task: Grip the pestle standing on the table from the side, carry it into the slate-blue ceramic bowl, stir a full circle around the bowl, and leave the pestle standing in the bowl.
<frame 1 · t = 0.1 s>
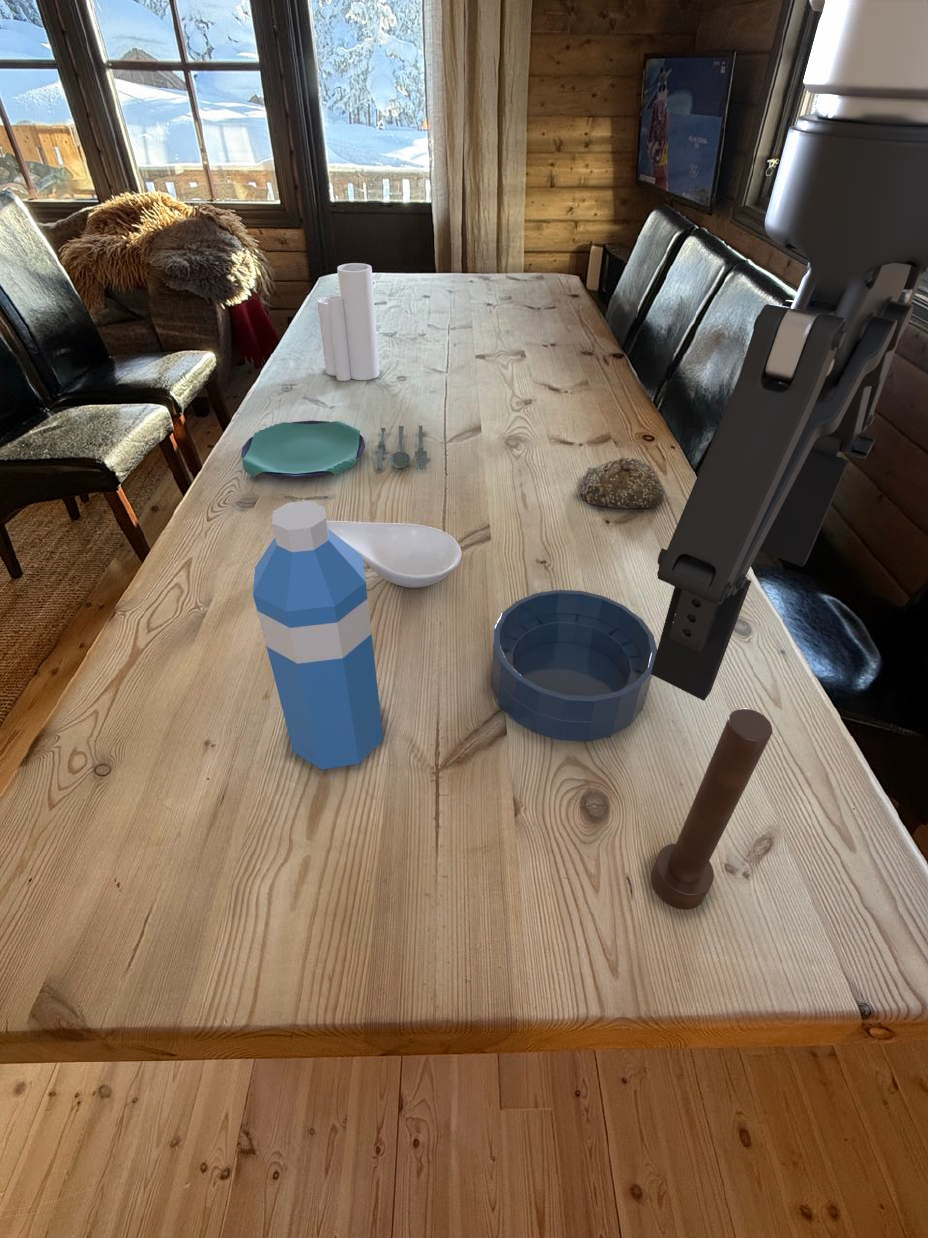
hand: (736, 612, 35), 29 cm above the table, tool pointing down, fingers open, 13 cm apart
bowl: (567, 684, 70), on the table
vase: (352, 375, 136), on the table
bread roll: (619, 491, 101), on the table
cutlery set: (336, 457, 109), on the table
water bottle: (338, 732, 65), on the table
spoon rest: (369, 576, 85), on the table
pestle: (678, 883, 54), on the table
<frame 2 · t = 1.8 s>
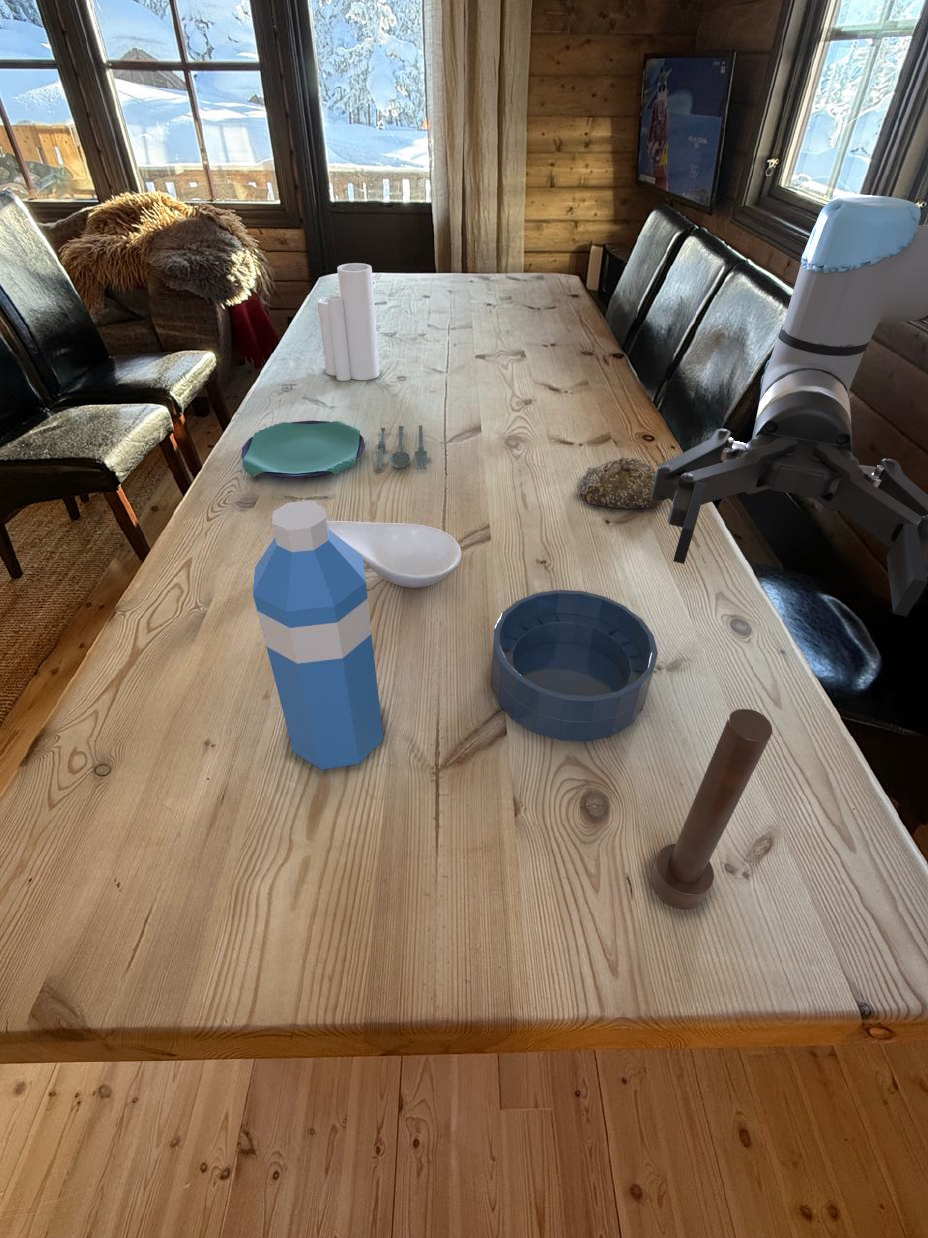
hand: (791, 571, 42), 26 cm above the table, tool horizontal, fingers open, 13 cm apart
nothing on the table moved.
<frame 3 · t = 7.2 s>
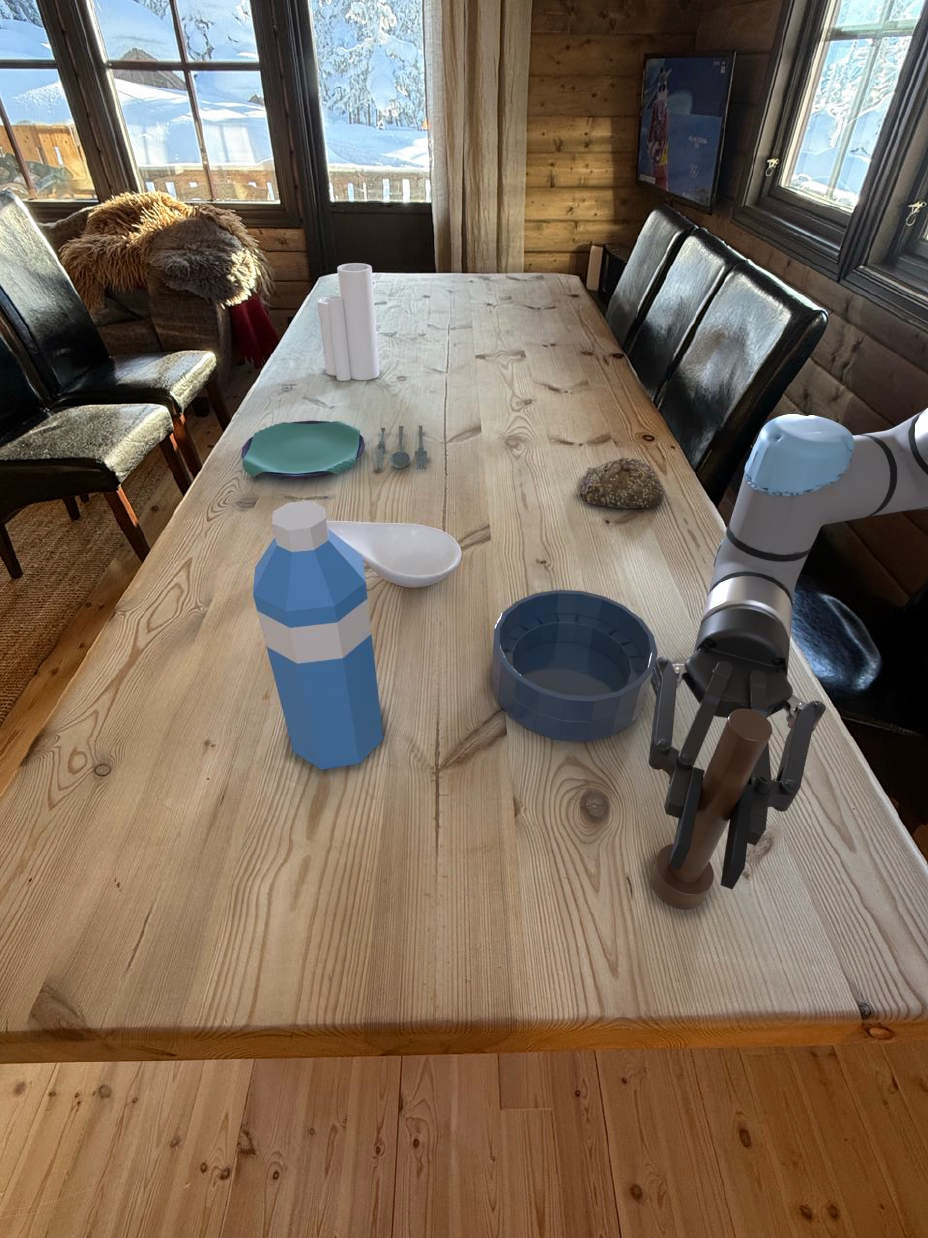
hand: (705, 866, 42), 12 cm above the table, tool horizontal, fingers closed on pestle, 3 cm apart
pestle: (678, 883, 54), on the table, touching gripper
everything else where it was.
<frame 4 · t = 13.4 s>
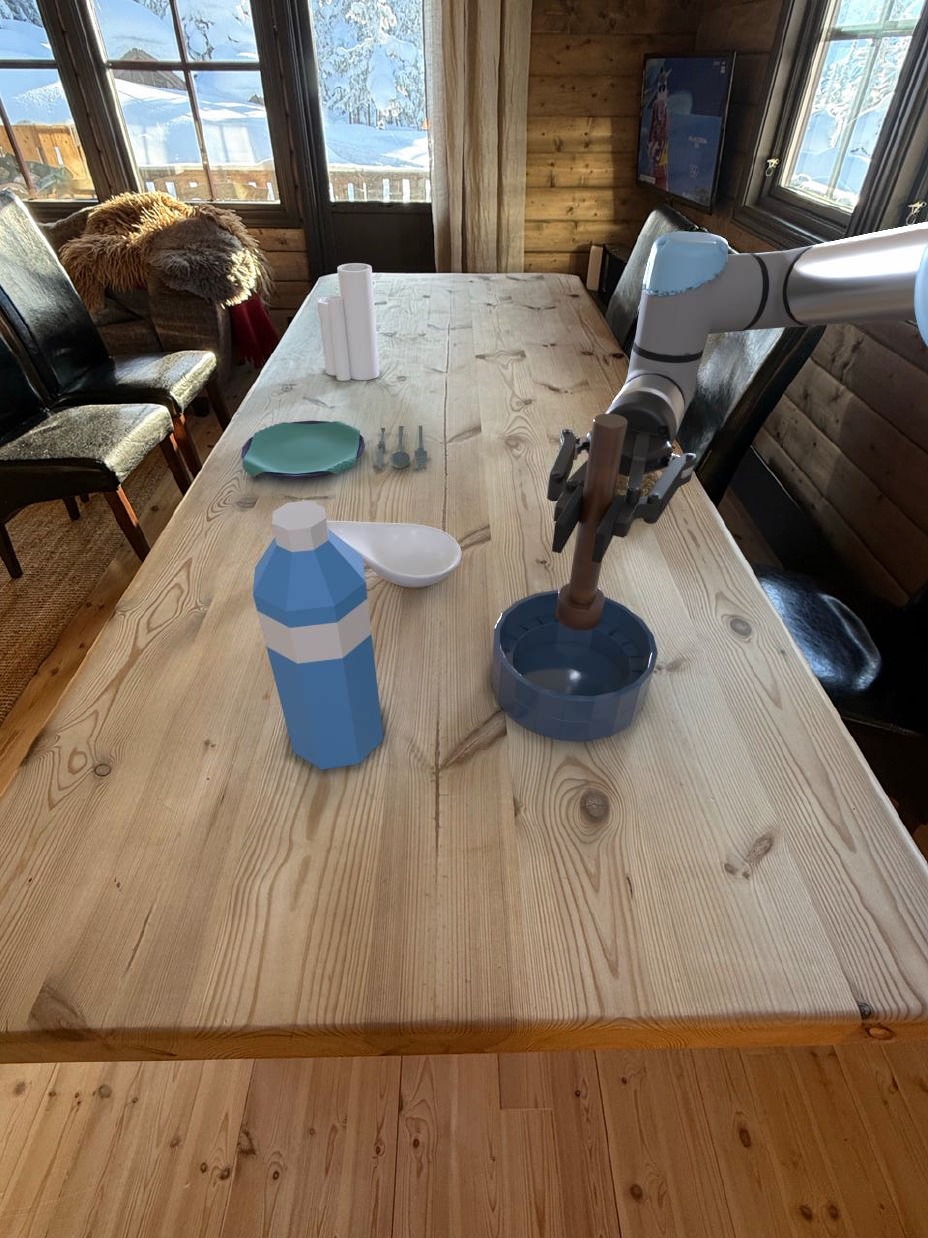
hand: (578, 543, 52), 22 cm above the table, tool horizontal, fingers closed on pestle, 3 cm apart
pestle: (578, 615, 64), point 10 cm above the table, touching gripper
everything else where it was.
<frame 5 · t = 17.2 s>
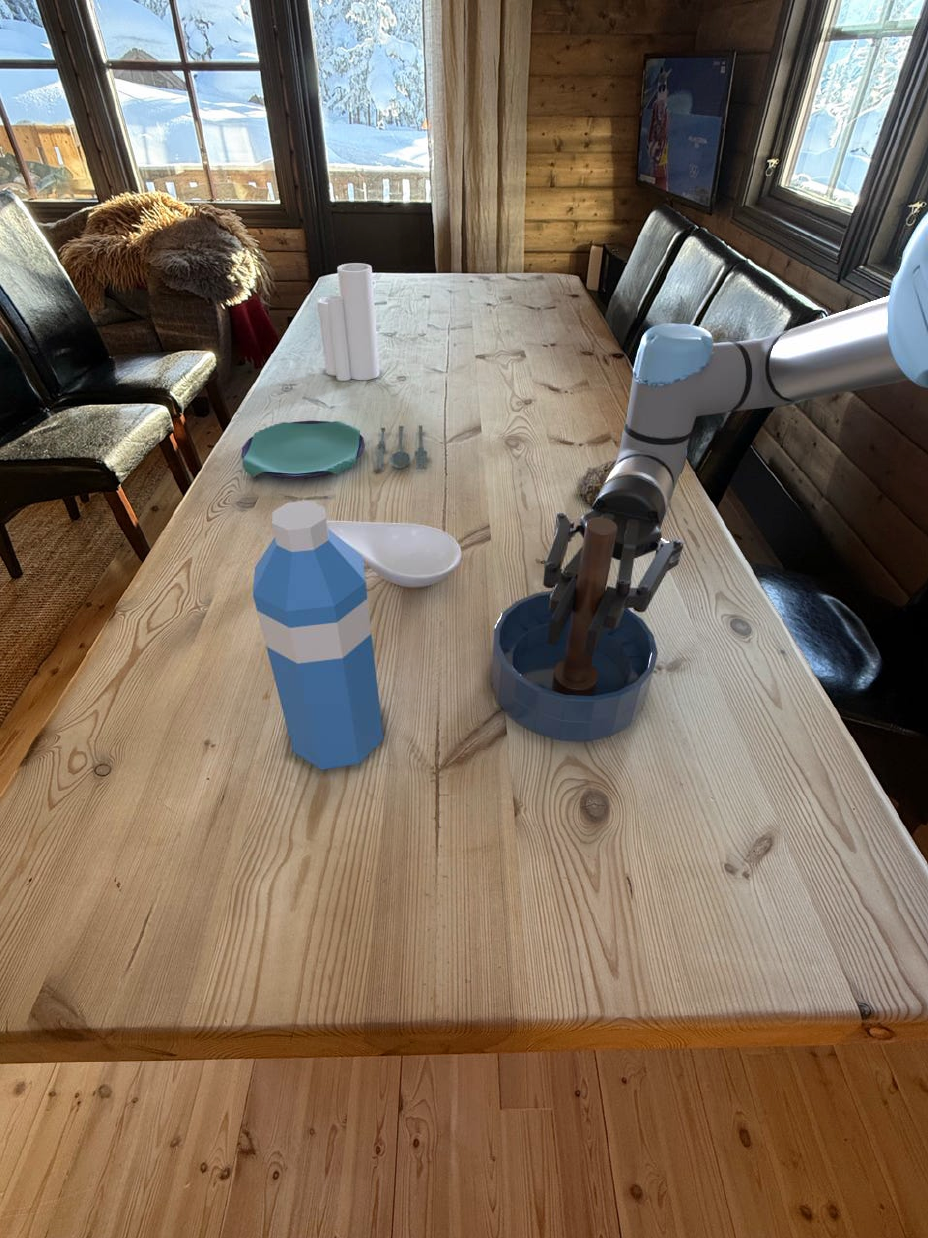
hand: (571, 637, 56), 13 cm above the table, tool horizontal, fingers closed on pestle, 3 cm apart
pestle: (573, 690, 68), point 1 cm above the table, touching gripper
everything else where it was.
when the fingers open (13 cm above the table, at t = 20.0 s): pestle stays where it is, resting on bowl.
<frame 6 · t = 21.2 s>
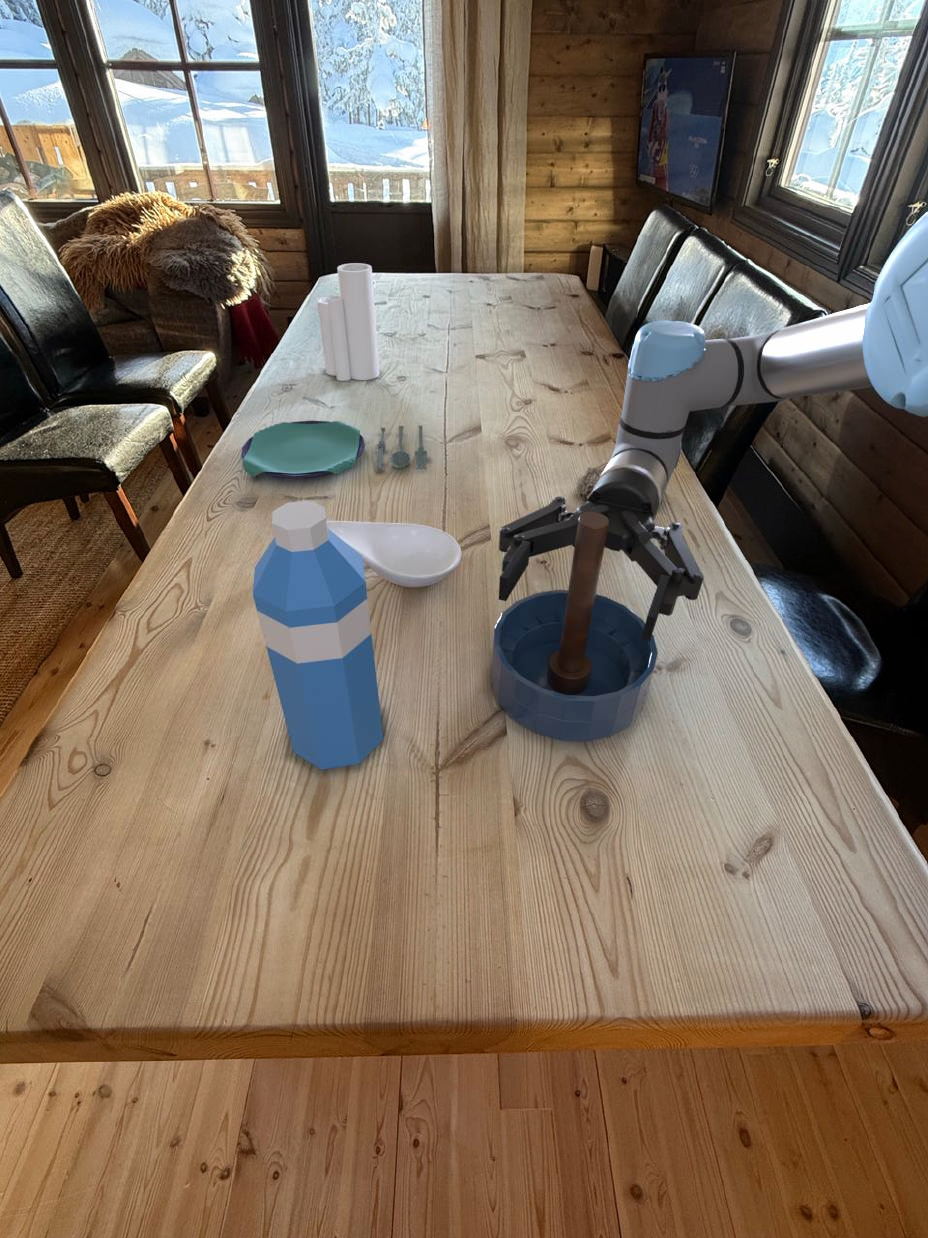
hand: (573, 608, 59), 13 cm above the table, tool horizontal, fingers open, 13 cm apart
pestle: (567, 680, 70), point 1 cm above the table, touching bowl
everything else where it was.
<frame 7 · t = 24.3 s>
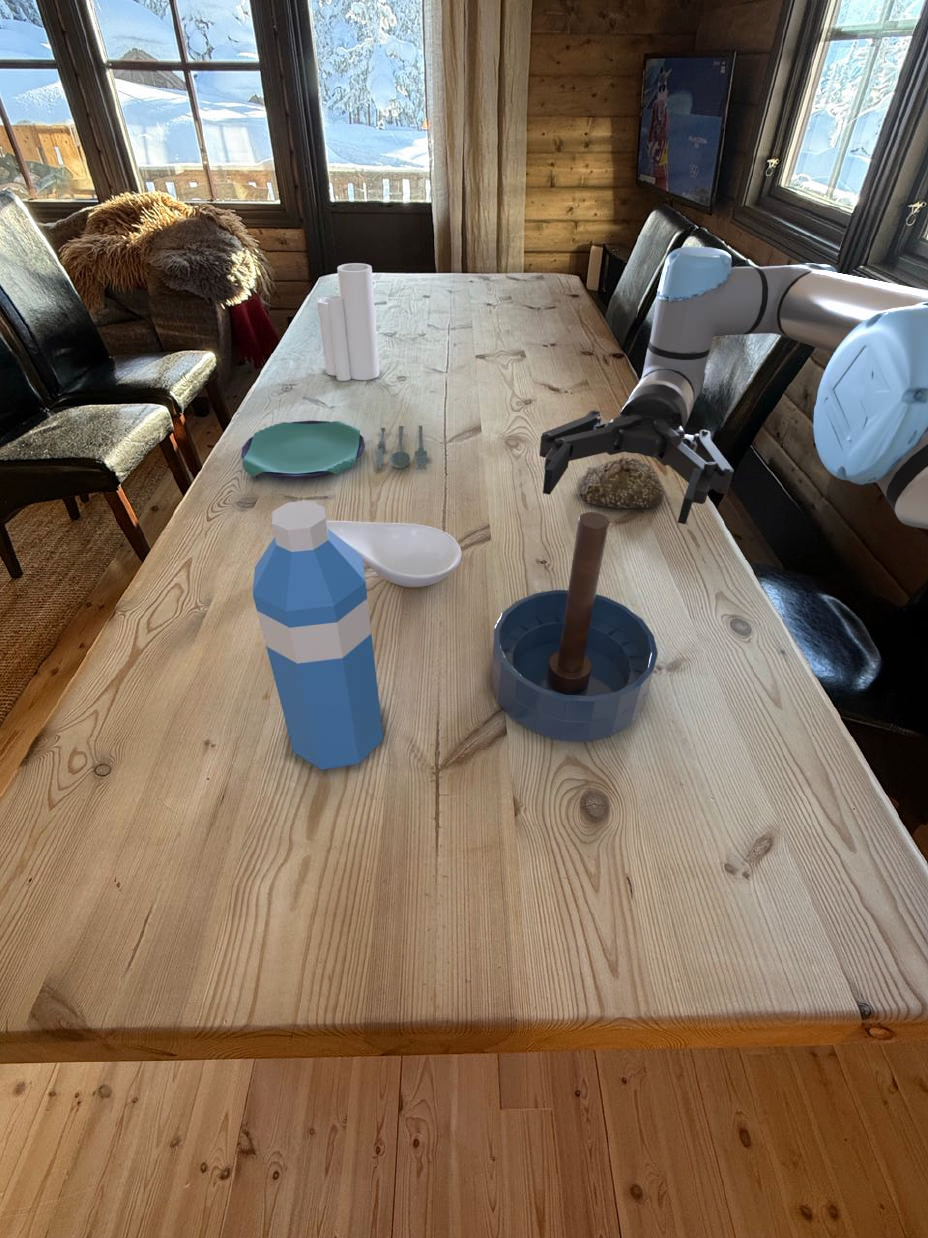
hand: (613, 496, 64), 18 cm above the table, tool horizontal, fingers open, 13 cm apart
nothing on the table moved.
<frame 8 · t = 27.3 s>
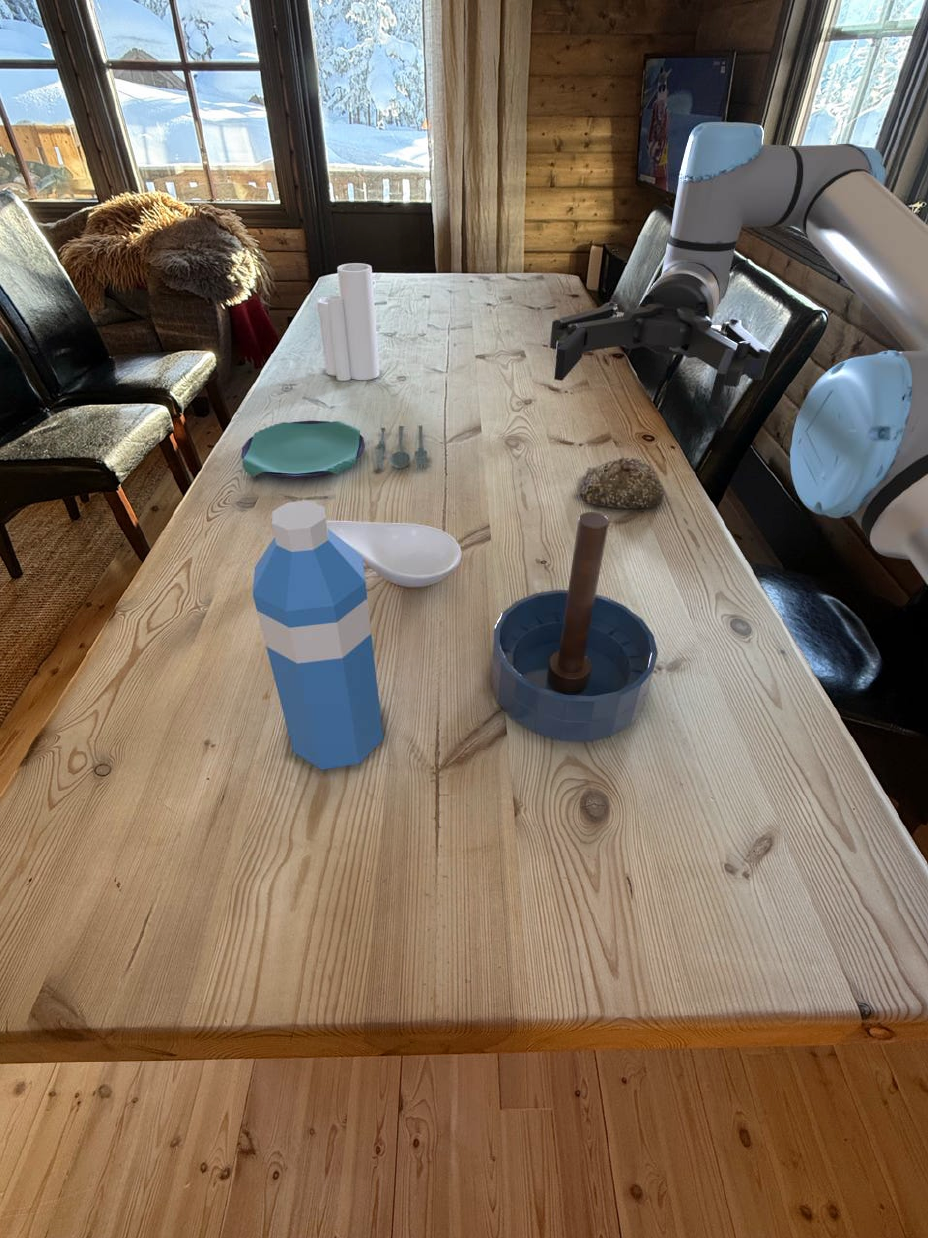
hand: (635, 377, 57), 30 cm above the table, tool horizontal, fingers open, 13 cm apart
nothing on the table moved.
at the end: pestle inside the target area in the bowl (0.1 cm from its centre), point 0.6 cm above the bowl's base; pestle moved 23.1 cm from its start; the gripper is holding nothing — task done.
